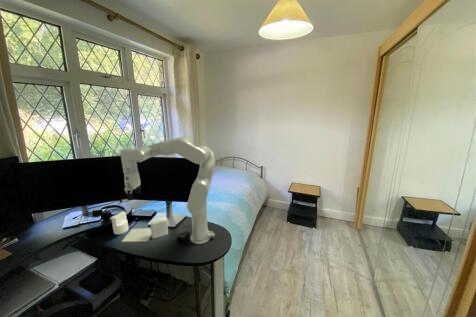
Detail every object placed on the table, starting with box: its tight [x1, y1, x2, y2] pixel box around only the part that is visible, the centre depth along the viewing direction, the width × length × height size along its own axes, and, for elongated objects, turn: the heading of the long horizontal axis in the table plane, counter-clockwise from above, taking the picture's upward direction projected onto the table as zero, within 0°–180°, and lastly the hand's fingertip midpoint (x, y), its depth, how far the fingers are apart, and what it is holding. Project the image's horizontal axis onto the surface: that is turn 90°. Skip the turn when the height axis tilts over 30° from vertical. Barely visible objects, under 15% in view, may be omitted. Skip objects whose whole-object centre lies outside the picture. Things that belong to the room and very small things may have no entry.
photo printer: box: [150, 216, 169, 240], centre depth 129 cm, size 10×4×12 cm, turn 123°
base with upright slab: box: [111, 211, 130, 235], centre depth 135 cm, size 9×9×12 cm
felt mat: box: [121, 227, 152, 243], centre depth 131 cm, size 16×14×1 cm
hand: (134, 196), depth 121 cm, fingers open, 9 cm apart
